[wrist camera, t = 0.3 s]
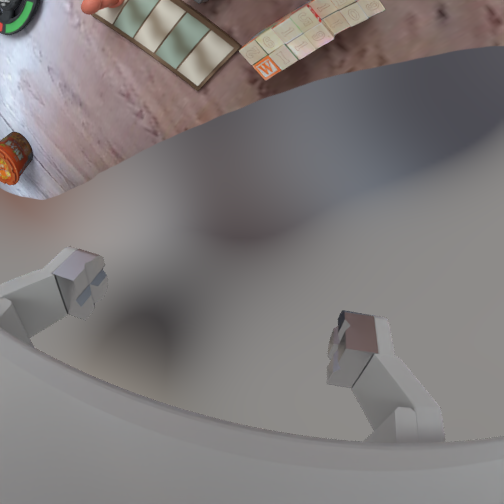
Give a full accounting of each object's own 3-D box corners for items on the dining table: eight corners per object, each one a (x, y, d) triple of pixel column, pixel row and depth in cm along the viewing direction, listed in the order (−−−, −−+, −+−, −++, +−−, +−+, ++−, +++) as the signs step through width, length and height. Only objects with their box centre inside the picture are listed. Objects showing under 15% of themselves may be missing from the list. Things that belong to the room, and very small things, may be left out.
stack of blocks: (355, -25, 32) (364, -25, 25) (377, 5, 35) (391, 13, 28) (254, 35, 45) (237, 51, 38) (276, 60, 48) (264, 82, 41)
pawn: (113, -16, 36) (82, -8, 31) (128, -7, 38) (98, 2, 33) (103, 1, 39) (72, 12, 34) (117, 10, 41) (88, 22, 36)
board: (123, -36, 34) (120, -35, 33) (241, 45, 47) (240, 47, 46) (93, 13, 43) (90, 15, 42) (199, 89, 56) (197, 91, 55)
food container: (18, 120, 67) (-5, 141, 61) (43, 158, 79) (23, 181, 72) (-1, 136, 73) (-21, 156, 67) (22, 169, 84) (4, 190, 78)
